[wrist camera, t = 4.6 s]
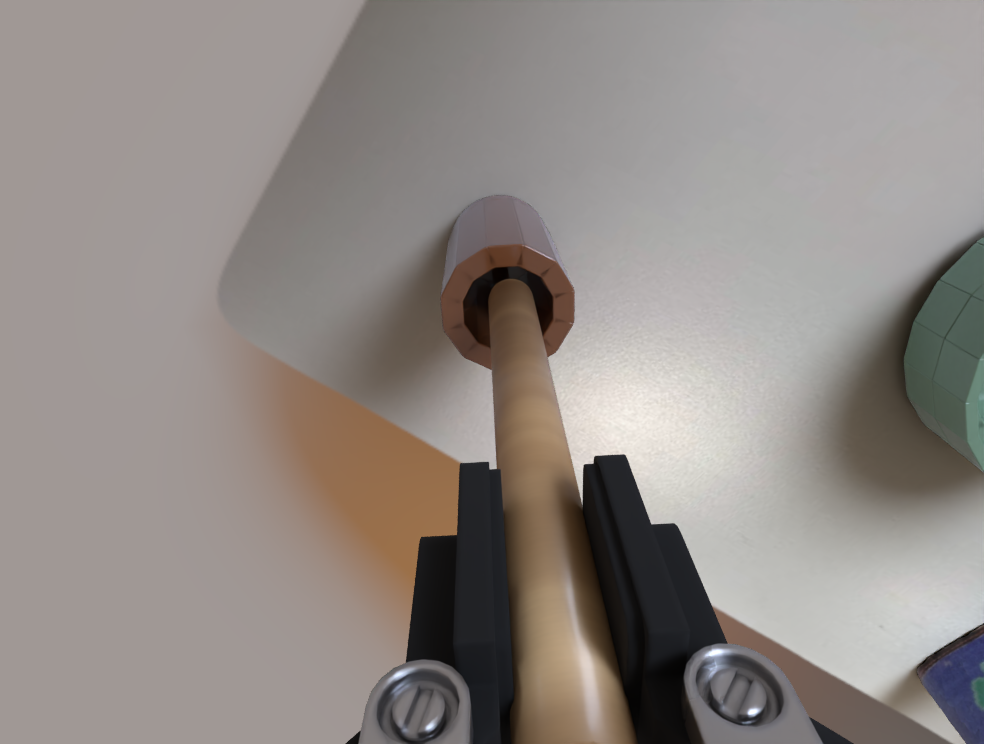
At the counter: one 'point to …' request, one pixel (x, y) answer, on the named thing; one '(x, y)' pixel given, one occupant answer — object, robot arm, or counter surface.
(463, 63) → the counter surface
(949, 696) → the flask
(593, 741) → the cooking stick
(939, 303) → the bowl
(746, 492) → the counter surface
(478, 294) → the crock
